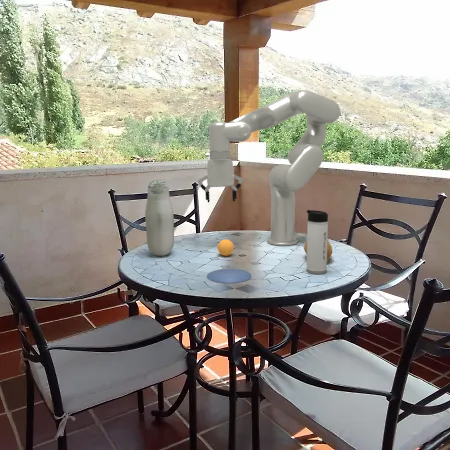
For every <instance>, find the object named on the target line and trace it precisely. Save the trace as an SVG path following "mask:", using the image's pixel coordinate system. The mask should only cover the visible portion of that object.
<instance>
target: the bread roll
mask: <svg viewBox="0 0 450 450" xmlns="http://www.w3.org/2000/svg"><path fill="white" fill-rule="evenodd" d="M303 251H304V252H305V254H306V255H307V240H306V241H305V242H304V244H303ZM332 254H333V247H332V245H331V243H330V241H329V240H328V239H327V262H328V261H329V260H330V259H331V257H332Z"/></svg>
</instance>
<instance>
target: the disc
mask: <svg viewBox="0 0 450 450" xmlns="http://www.w3.org/2000/svg"><path fill="white" fill-rule="evenodd" d="M206 278H207V279H208V280H210V281H211V282H214V283H220V284H237V283H243V282H246V281H248V280H250V279H251V278H252V274H251V273H250V271H247V270H245V269H244V270H243V269H241V268H221V269H215V270H212V271H210V272H208V273H207V275H206Z"/></svg>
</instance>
